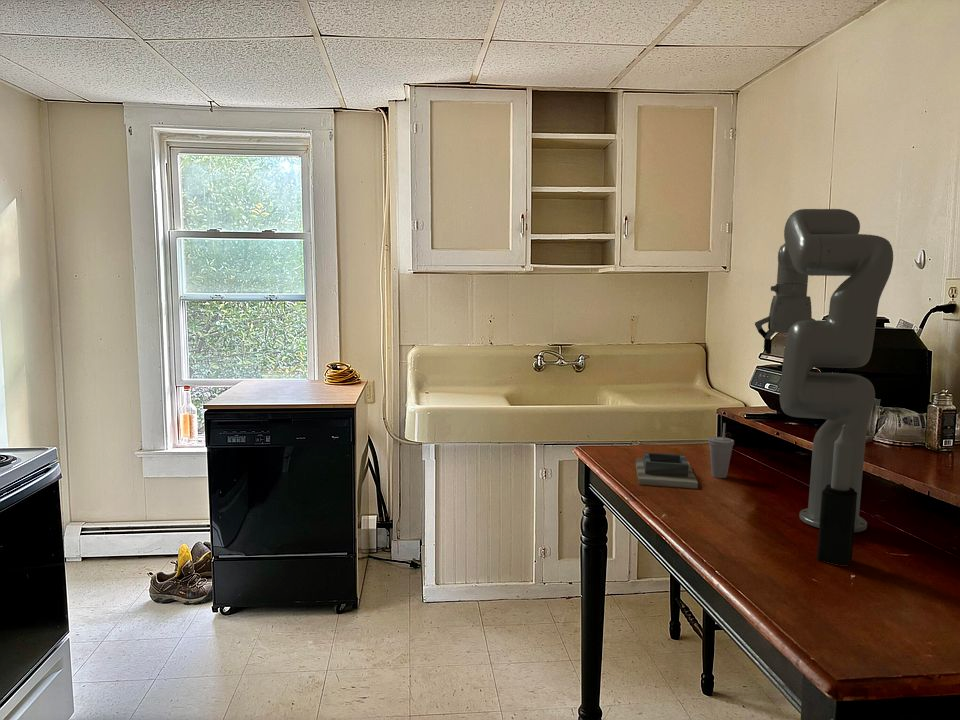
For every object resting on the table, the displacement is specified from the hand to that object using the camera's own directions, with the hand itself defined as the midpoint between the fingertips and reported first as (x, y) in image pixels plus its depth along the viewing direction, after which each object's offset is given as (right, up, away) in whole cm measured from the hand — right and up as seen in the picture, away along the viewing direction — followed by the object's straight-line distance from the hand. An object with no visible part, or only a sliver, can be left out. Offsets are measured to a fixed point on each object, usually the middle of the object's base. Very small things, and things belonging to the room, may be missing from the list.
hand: (787, 354), depth 182 cm
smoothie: (-21, -32, -7) cm, 39 cm away
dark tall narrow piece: (-19, -38, -60) cm, 73 cm away
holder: (-35, -32, -7) cm, 48 cm away
